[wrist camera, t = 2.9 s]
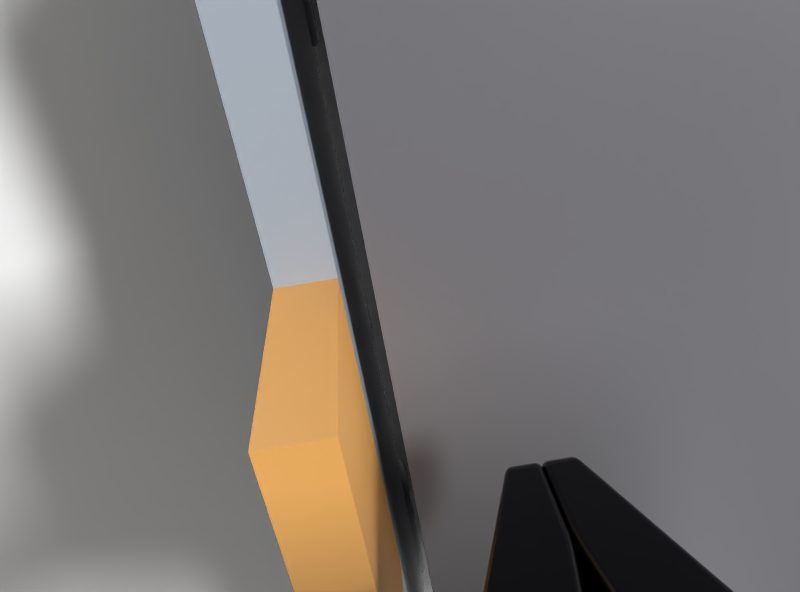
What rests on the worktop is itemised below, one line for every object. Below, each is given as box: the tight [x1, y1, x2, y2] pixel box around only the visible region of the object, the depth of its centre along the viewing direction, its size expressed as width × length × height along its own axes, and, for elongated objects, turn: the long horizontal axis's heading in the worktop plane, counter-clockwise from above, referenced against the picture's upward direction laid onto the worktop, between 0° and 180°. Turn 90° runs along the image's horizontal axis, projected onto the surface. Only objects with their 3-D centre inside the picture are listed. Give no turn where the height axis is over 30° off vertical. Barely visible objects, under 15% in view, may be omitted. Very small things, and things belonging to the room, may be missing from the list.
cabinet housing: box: [317, 0, 800, 592], centre depth 12 cm, size 17×8×5 cm, turn 9°
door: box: [195, 0, 424, 592], centre depth 11 cm, size 16×1×8 cm, turn 9°
